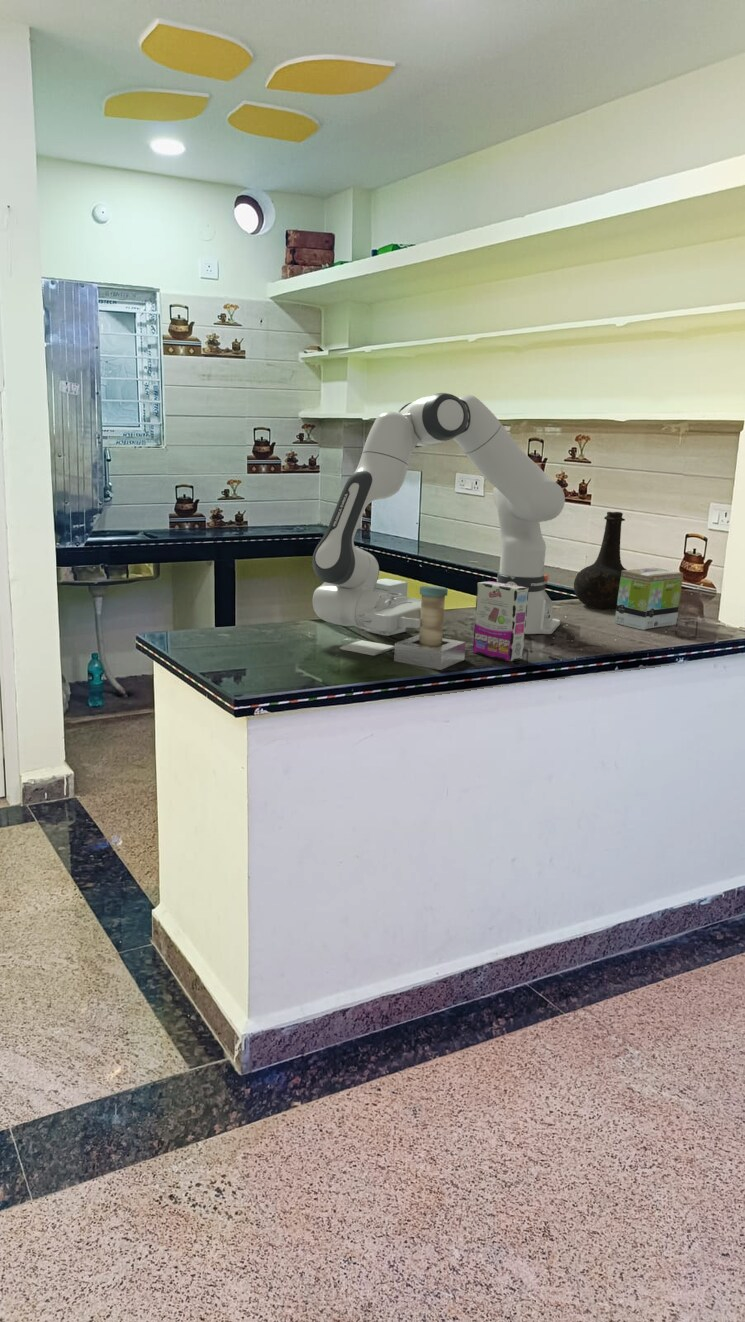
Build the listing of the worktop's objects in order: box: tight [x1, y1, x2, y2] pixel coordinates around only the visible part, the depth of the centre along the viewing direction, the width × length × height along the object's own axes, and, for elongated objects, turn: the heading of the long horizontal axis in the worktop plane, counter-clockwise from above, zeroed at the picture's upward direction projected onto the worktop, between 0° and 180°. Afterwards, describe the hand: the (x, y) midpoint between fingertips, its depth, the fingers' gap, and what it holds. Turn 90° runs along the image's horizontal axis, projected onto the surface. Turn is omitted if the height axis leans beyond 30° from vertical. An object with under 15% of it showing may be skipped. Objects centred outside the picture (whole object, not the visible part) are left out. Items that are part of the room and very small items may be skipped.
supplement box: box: [365, 578, 409, 637], centre depth 226 cm, size 7×7×13 cm
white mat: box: [340, 639, 395, 656], centre depth 210 cm, size 9×9×1 cm
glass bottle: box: [573, 511, 628, 611], centre depth 268 cm, size 18×18×28 cm
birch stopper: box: [418, 585, 448, 648], centre depth 200 cm, size 6×6×16 cm
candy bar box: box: [472, 580, 529, 663], centre depth 207 cm, size 11×5×16 cm, turn 45°
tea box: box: [614, 567, 684, 631], centre depth 248 cm, size 15×10×15 cm, turn 129°
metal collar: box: [393, 633, 466, 671], centre depth 202 cm, size 11×11×4 cm
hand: (431, 620), depth 200 cm, fingers open, 8 cm apart
